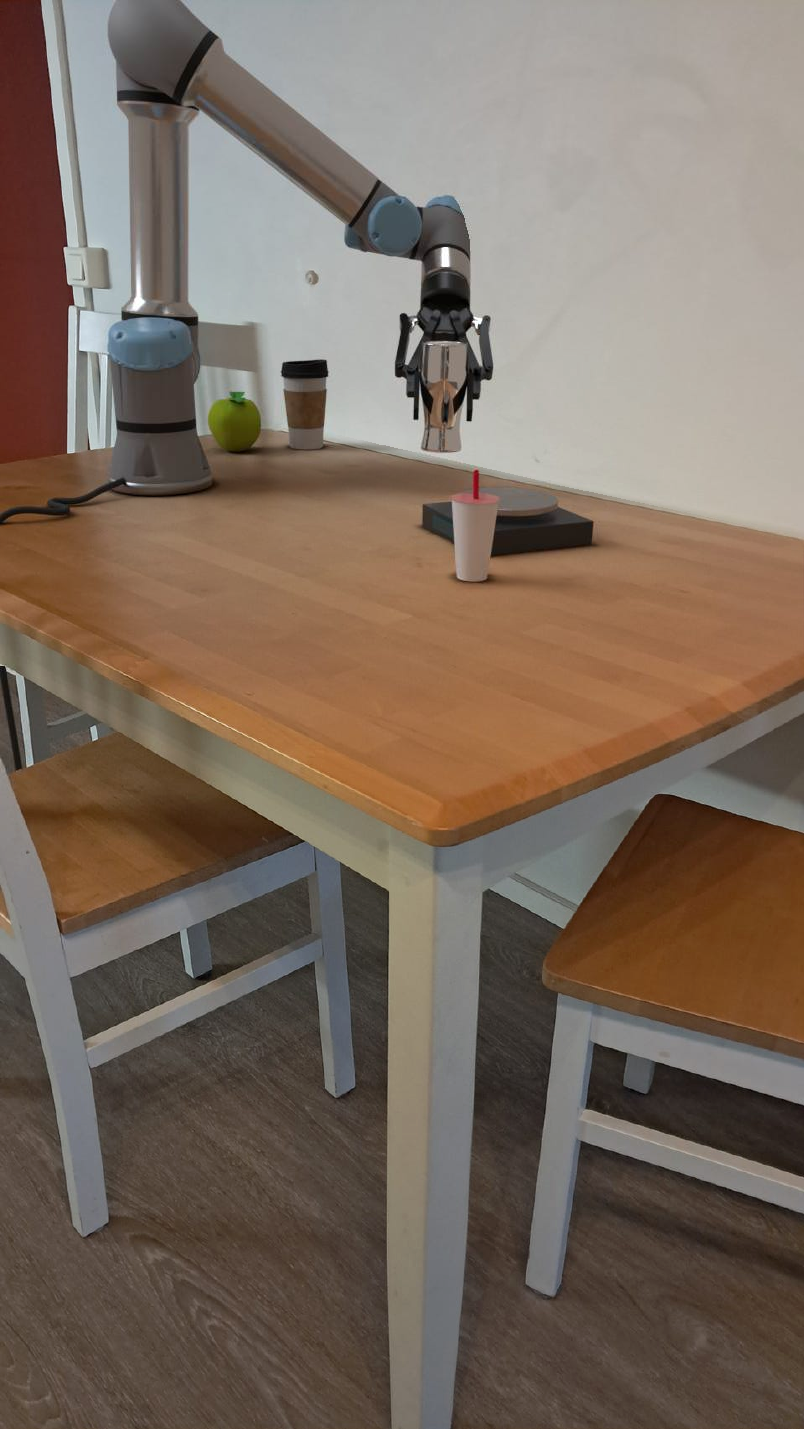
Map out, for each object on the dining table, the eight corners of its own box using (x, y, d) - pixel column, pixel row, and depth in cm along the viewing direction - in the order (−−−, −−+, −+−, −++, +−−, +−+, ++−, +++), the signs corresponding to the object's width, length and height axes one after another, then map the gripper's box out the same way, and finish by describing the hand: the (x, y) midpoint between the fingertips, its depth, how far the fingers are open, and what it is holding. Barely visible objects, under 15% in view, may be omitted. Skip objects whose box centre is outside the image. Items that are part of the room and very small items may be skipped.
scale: (475, 557, 127) (476, 532, 126) (419, 526, 140) (419, 504, 139) (591, 544, 133) (594, 521, 132) (527, 516, 146) (528, 494, 145)
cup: (470, 587, 116) (474, 476, 111) (438, 575, 120) (441, 468, 115) (505, 578, 119) (511, 470, 114) (473, 567, 123) (478, 462, 118)
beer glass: (470, 447, 160) (475, 342, 154) (456, 455, 154) (461, 345, 148) (426, 443, 162) (429, 339, 156) (411, 451, 156) (414, 343, 150)
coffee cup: (327, 451, 189) (326, 363, 183) (280, 450, 190) (277, 362, 183) (331, 443, 197) (330, 358, 191) (286, 442, 197) (283, 357, 191)
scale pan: (484, 520, 127) (485, 513, 127) (437, 497, 138) (438, 491, 138) (577, 511, 132) (578, 504, 132) (525, 490, 143) (525, 484, 143)
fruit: (263, 445, 194) (260, 388, 189) (260, 455, 185) (258, 395, 181) (212, 445, 193) (208, 388, 189) (207, 455, 184) (203, 395, 180)
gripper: (509, 308, 164) (509, 432, 156) (380, 304, 165) (374, 428, 156) (513, 271, 157) (514, 400, 149) (379, 268, 158) (372, 396, 149)
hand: (442, 414), depth 153 cm, fingers closed on beer glass, 7 cm apart
